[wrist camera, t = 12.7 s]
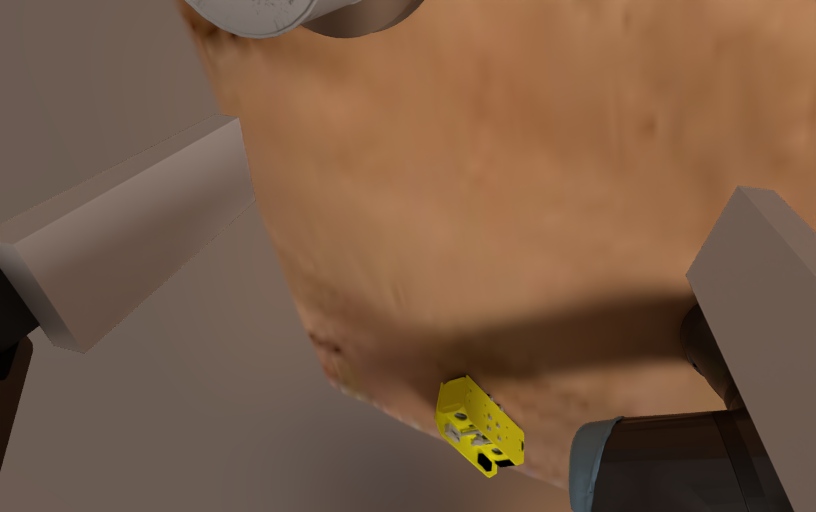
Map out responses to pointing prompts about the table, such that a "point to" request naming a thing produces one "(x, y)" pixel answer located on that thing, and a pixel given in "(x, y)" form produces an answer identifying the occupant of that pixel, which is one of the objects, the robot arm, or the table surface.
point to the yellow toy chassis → (478, 426)
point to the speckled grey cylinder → (263, 14)
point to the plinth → (362, 18)
